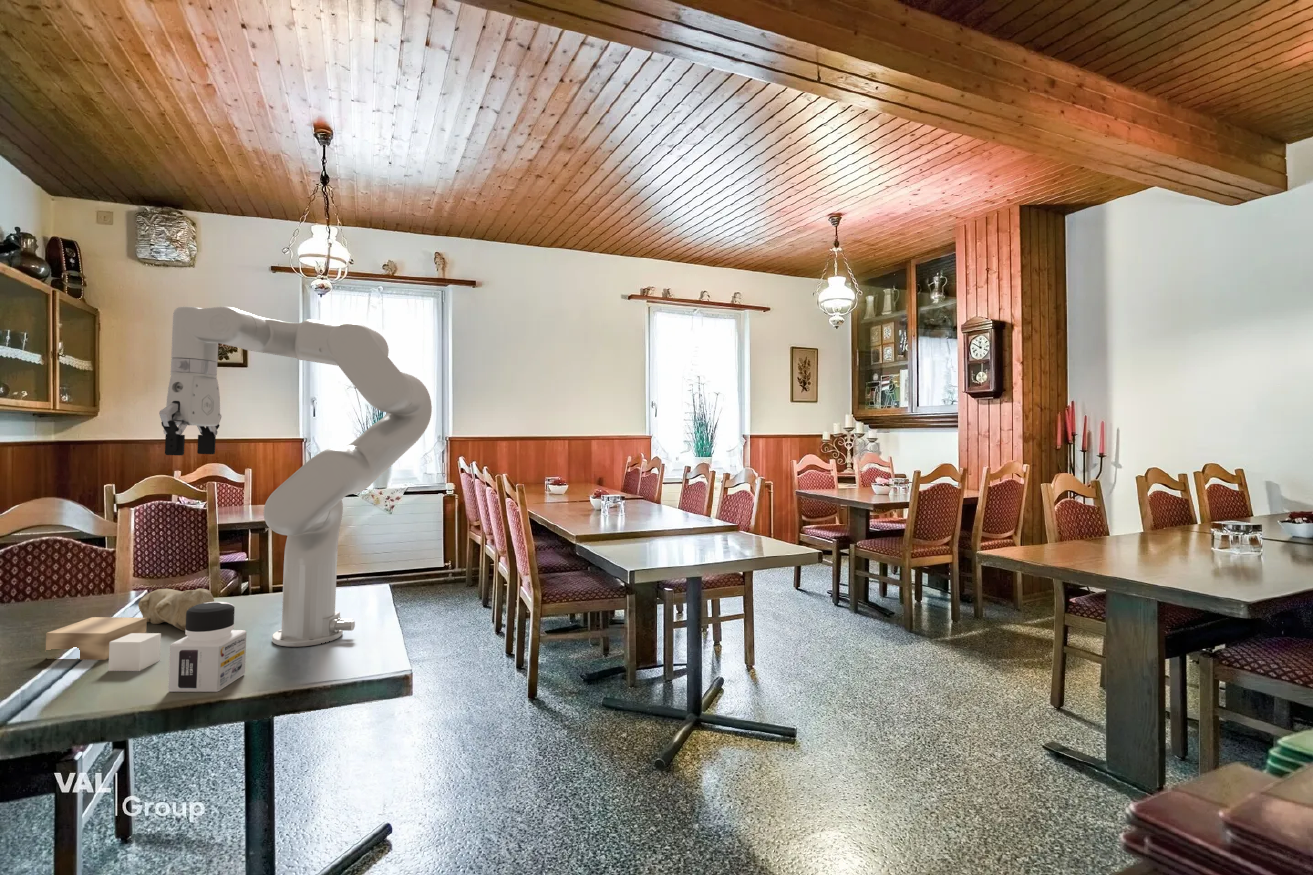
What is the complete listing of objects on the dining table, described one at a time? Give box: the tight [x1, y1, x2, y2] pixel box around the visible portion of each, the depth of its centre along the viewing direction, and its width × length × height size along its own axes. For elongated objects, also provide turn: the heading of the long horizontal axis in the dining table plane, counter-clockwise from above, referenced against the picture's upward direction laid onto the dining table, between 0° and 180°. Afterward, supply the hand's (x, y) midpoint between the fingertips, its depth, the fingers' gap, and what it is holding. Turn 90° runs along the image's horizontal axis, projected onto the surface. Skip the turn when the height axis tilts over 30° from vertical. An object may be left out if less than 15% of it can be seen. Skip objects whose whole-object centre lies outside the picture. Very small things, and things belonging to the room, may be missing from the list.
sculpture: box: [137, 588, 215, 632], centre depth 134 cm, size 9×17×10 cm
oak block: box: [45, 616, 148, 661], centre depth 117 cm, size 10×10×5 cm
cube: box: [107, 632, 162, 672], centre depth 110 cm, size 5×5×5 cm
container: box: [167, 601, 248, 693], centre depth 104 cm, size 8×8×13 cm
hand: (190, 454), depth 126 cm, fingers open, 9 cm apart
